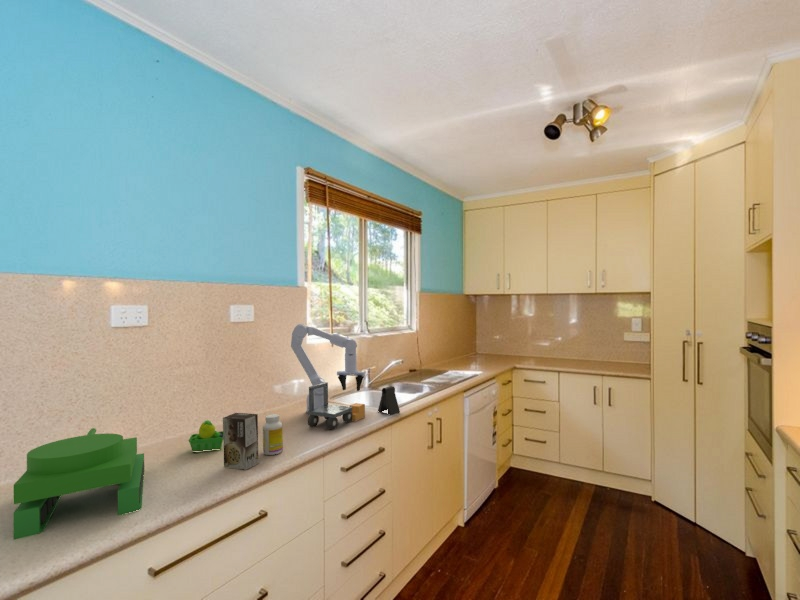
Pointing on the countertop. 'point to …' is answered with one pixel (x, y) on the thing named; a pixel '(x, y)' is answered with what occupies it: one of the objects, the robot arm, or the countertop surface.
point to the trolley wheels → (329, 420)
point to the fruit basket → (206, 438)
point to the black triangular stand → (389, 401)
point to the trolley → (325, 404)
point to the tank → (76, 476)
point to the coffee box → (240, 440)
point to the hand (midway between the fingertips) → (351, 390)
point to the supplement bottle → (272, 435)
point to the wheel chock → (358, 411)
